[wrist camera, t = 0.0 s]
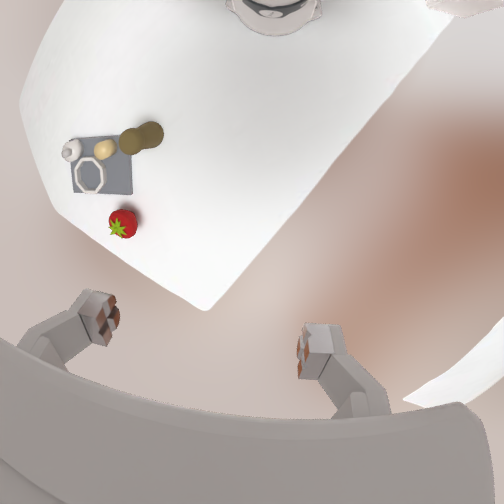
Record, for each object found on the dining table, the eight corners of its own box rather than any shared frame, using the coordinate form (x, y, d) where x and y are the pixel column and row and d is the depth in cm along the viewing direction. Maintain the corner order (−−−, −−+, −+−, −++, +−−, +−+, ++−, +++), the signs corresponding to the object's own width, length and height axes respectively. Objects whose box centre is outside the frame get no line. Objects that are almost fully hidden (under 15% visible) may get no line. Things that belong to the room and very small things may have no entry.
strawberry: (137, 231, 64) (120, 252, 56) (116, 212, 62) (96, 231, 53) (149, 216, 62) (132, 235, 53) (127, 196, 59) (106, 213, 51)
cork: (166, 124, 50) (144, 130, 41) (160, 150, 54) (138, 162, 44) (142, 119, 50) (116, 124, 40) (136, 144, 53) (111, 155, 43)
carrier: (72, 139, 52) (56, 144, 46) (131, 135, 52) (117, 139, 46) (76, 190, 59) (62, 199, 54) (132, 193, 59) (120, 202, 54)
